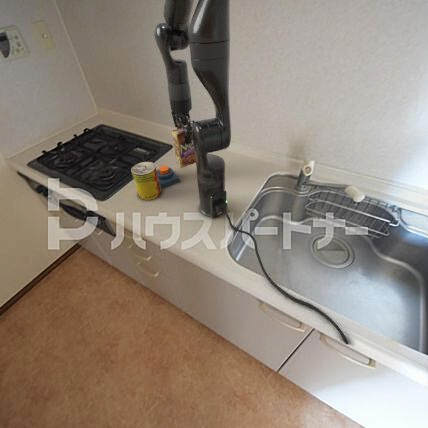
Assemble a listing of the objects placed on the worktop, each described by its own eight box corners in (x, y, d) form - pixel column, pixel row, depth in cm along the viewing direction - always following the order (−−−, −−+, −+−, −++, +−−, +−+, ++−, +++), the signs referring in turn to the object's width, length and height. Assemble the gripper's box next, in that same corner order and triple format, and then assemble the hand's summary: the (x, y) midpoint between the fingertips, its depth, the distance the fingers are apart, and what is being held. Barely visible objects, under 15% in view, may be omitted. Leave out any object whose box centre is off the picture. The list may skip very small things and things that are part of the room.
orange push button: (179, 181, 101) (178, 173, 99) (162, 188, 99) (161, 180, 96) (169, 170, 108) (167, 163, 105) (152, 177, 105) (150, 169, 102)
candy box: (181, 169, 98) (176, 134, 87) (176, 164, 101) (170, 130, 90) (199, 162, 101) (196, 127, 91) (194, 157, 104) (190, 123, 93)
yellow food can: (157, 200, 93) (150, 175, 85) (135, 199, 94) (127, 174, 86) (164, 186, 99) (158, 162, 91) (143, 185, 101) (136, 160, 92)
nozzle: (171, 172, 100) (170, 168, 99) (162, 176, 99) (161, 172, 97) (166, 168, 102) (165, 164, 101) (158, 171, 101) (157, 167, 100)
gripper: (161, 92, 85) (168, 137, 97) (180, 104, 76) (186, 151, 88) (179, 88, 87) (184, 132, 99) (200, 98, 79) (203, 145, 91)
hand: (185, 141), depth 94 cm, fingers closed on candy box, 4 cm apart
